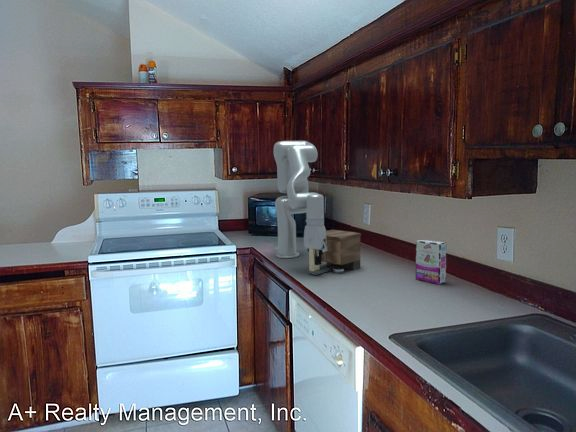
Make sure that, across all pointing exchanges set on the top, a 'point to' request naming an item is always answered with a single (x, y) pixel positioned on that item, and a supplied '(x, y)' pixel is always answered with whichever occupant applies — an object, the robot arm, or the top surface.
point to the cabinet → (342, 249)
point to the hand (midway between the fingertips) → (316, 263)
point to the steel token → (338, 269)
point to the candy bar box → (431, 261)
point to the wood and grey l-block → (315, 268)
